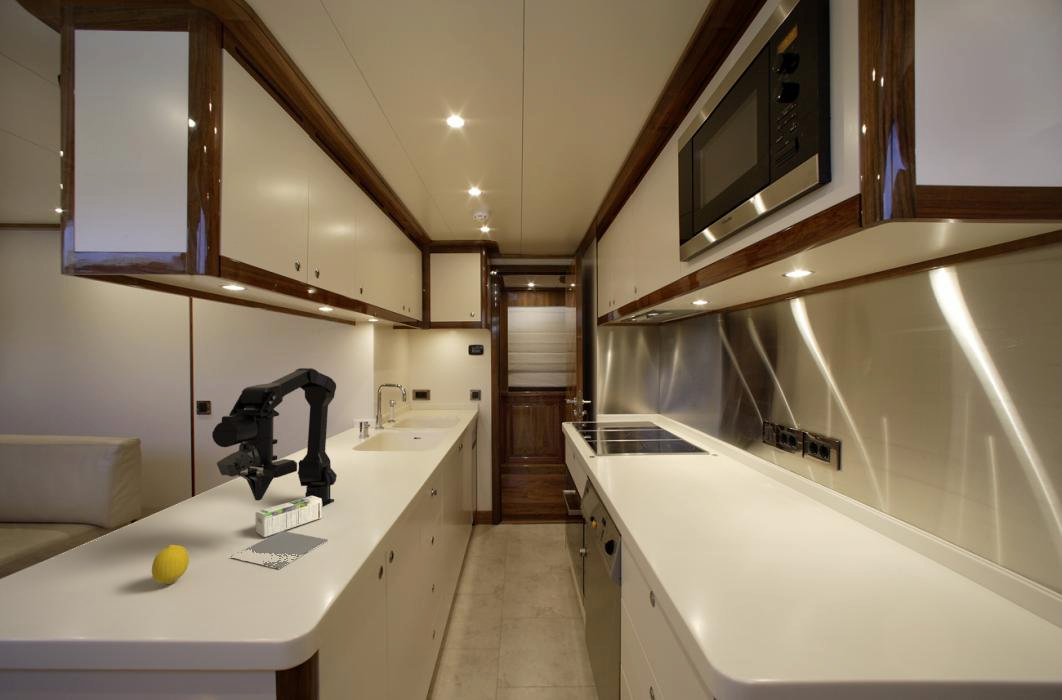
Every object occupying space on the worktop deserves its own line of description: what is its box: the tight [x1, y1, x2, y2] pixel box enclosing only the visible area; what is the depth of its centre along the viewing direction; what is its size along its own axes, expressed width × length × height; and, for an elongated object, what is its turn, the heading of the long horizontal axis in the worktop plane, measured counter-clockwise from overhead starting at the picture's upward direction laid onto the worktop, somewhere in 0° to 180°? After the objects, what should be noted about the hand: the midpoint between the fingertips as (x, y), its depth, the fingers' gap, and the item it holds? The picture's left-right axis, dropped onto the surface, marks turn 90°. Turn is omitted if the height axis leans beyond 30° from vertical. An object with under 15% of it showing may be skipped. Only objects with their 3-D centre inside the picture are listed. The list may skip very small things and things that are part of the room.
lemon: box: [151, 544, 190, 585], centre depth 77 cm, size 6×6×8 cm
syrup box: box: [255, 496, 323, 538], centre depth 103 cm, size 6×6×14 cm
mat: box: [230, 530, 328, 569], centre depth 90 cm, size 13×15×1 cm
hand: (258, 499), depth 93 cm, fingers closed
